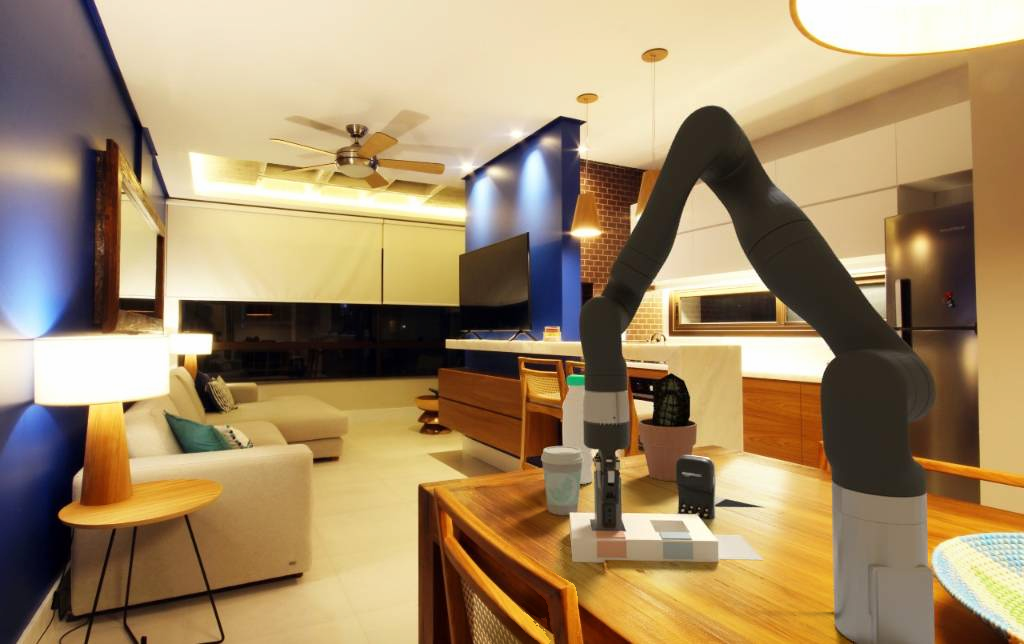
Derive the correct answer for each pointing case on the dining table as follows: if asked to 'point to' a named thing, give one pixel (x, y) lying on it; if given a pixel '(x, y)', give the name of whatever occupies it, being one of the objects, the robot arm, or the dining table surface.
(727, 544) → the mat
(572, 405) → the water bottle
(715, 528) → the dining table surface
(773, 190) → the robot arm
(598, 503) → the plug
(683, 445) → the potted plant
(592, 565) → the dining table surface
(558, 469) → the coffee cup
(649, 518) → the dock
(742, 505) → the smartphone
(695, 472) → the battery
